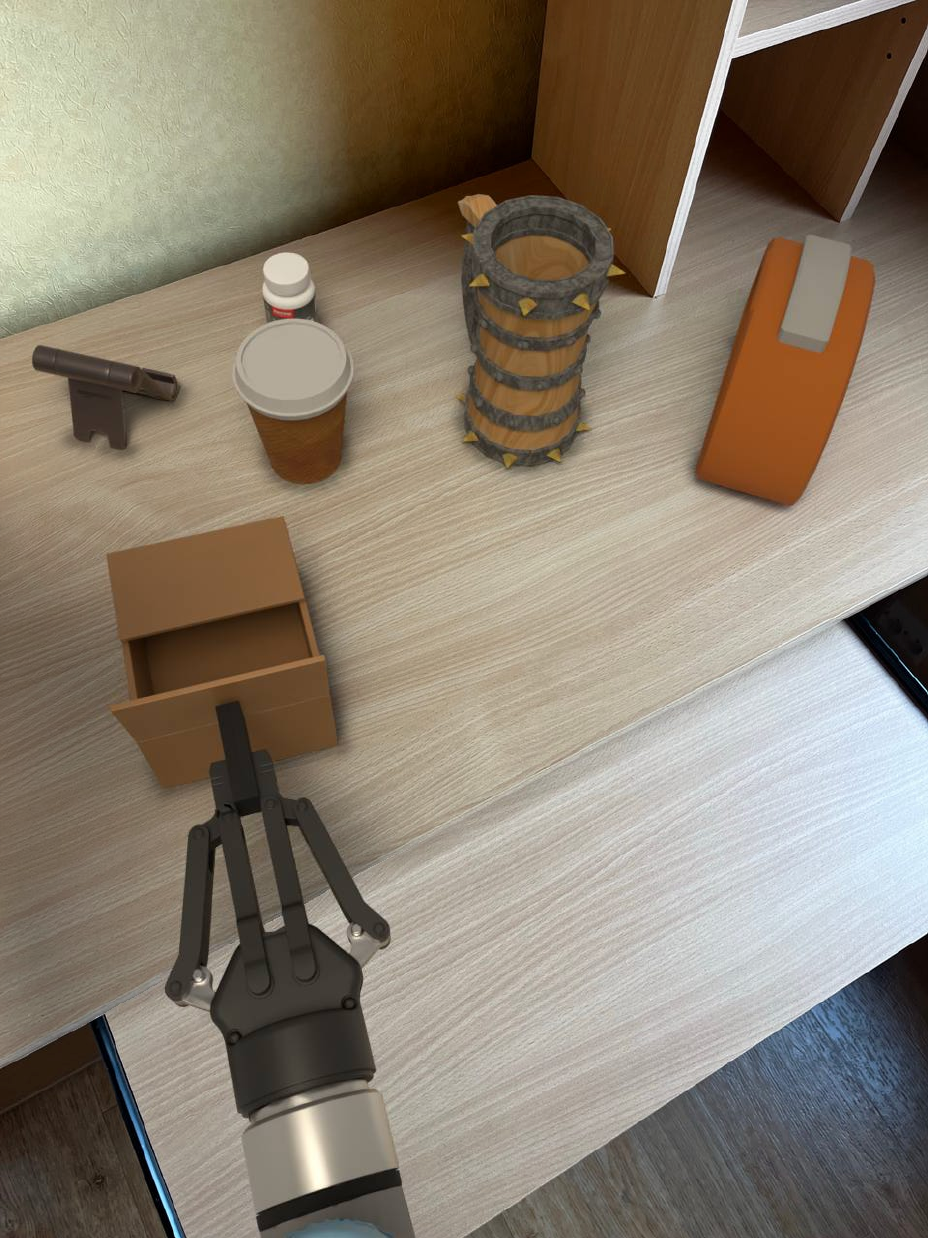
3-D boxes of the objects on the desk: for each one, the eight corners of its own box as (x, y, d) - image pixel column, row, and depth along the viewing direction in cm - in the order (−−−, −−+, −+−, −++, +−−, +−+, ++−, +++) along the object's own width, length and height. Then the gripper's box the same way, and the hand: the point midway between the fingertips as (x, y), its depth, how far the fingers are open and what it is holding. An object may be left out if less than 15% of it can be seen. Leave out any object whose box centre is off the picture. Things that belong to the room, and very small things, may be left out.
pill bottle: (275, 360, 98) (263, 291, 91) (265, 324, 100) (253, 254, 93) (325, 351, 99) (317, 281, 92) (314, 315, 101) (306, 245, 94)
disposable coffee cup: (292, 517, 89) (275, 424, 79) (229, 447, 93) (205, 349, 82) (382, 463, 93) (377, 366, 82) (318, 397, 96) (306, 296, 86)
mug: (498, 499, 91) (517, 328, 74) (400, 369, 98) (395, 185, 81) (620, 441, 95) (665, 265, 78) (516, 320, 102) (536, 134, 85)
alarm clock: (741, 315, 103) (793, 167, 89) (832, 340, 102) (900, 193, 88) (686, 497, 92) (735, 360, 78) (787, 527, 91) (857, 394, 76)
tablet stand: (182, 390, 96) (162, 322, 89) (148, 456, 92) (125, 390, 85) (91, 370, 97) (64, 300, 90) (53, 434, 93) (22, 367, 86)
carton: (296, 581, 86) (283, 514, 78) (338, 745, 79) (329, 690, 71) (135, 617, 84) (105, 552, 76) (163, 789, 77) (133, 738, 69)
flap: (323, 654, 65) (325, 660, 64) (328, 688, 71) (329, 694, 71) (109, 705, 62) (110, 711, 62) (134, 736, 69) (135, 741, 69)
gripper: (200, 1146, 58) (140, 761, 69) (428, 1074, 60) (334, 712, 72) (172, 1136, 52) (111, 712, 63) (429, 1056, 54) (326, 661, 65)
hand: (230, 713), depth 67 cm, fingers closed
